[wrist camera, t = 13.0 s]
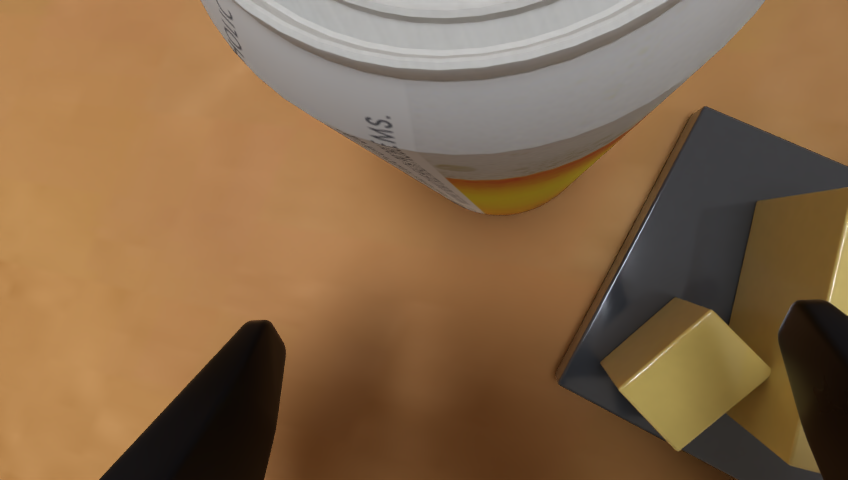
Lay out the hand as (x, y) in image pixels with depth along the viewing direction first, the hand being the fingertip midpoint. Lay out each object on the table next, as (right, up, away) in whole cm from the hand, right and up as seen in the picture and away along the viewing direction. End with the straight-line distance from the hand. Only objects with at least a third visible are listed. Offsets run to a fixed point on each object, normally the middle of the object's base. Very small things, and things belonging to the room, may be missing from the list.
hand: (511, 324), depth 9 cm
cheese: (+10, -1, +8) cm, 12 cm away
